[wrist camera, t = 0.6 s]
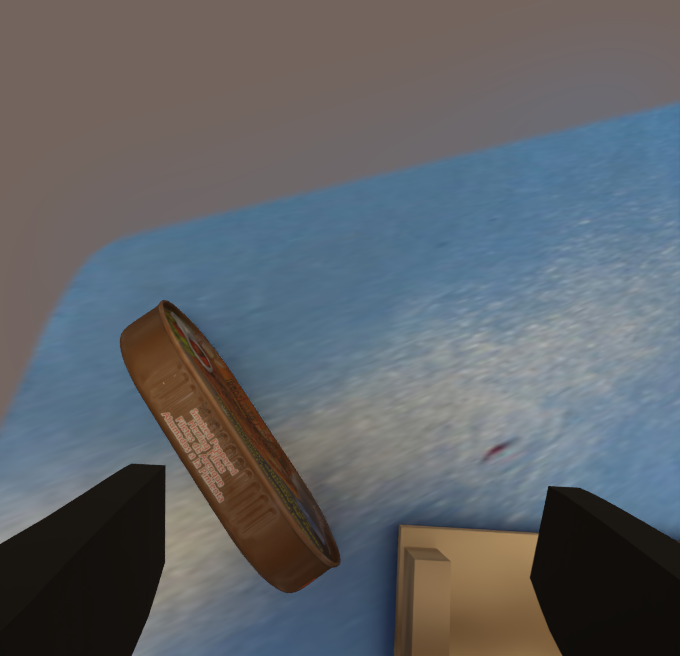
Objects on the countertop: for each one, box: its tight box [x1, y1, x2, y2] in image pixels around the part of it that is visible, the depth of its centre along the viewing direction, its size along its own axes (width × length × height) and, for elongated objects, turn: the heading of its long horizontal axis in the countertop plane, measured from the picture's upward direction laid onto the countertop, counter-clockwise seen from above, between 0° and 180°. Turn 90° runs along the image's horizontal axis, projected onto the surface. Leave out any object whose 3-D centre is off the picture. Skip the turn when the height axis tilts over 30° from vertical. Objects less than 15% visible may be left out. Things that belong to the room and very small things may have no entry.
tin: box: [120, 300, 341, 593], centre depth 25 cm, size 15×3×8 cm, turn 35°
